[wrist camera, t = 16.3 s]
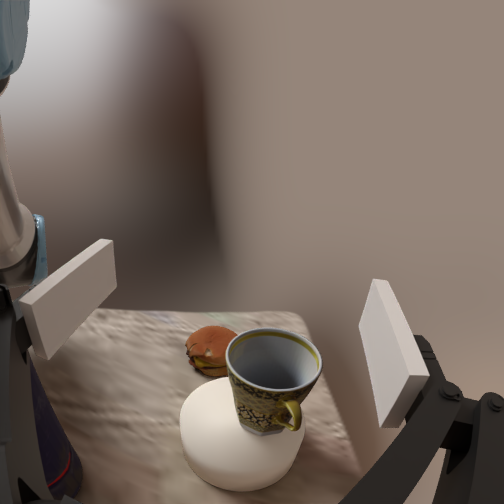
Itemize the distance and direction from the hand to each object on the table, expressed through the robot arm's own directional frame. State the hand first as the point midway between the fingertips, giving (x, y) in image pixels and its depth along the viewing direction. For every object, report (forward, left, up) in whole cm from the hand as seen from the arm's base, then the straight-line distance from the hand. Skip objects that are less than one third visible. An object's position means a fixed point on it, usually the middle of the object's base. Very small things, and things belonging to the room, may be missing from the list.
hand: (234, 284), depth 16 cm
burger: (-26, +11, -31) cm, 42 cm away
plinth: (-8, +7, -30) cm, 32 cm away
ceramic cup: (-7, +9, -25) cm, 27 cm away
